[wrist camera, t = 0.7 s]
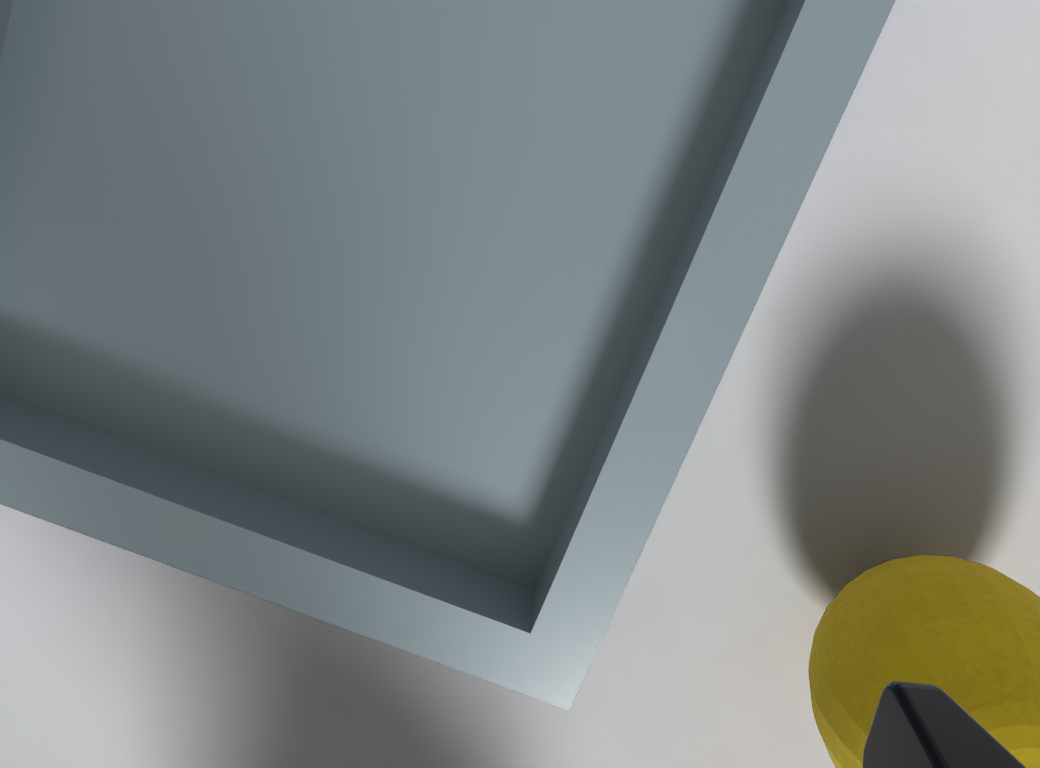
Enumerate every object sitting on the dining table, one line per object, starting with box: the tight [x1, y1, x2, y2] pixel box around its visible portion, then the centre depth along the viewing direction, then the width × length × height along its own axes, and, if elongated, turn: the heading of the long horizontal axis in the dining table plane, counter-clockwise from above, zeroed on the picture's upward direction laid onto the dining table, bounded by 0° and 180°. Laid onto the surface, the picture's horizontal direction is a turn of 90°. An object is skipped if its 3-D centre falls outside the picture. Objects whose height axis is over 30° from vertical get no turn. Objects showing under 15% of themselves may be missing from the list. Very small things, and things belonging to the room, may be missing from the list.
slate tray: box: [0, 0, 895, 710], centre depth 20 cm, size 18×18×3 cm
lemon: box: [809, 555, 1040, 768], centre depth 20 cm, size 6×6×8 cm
